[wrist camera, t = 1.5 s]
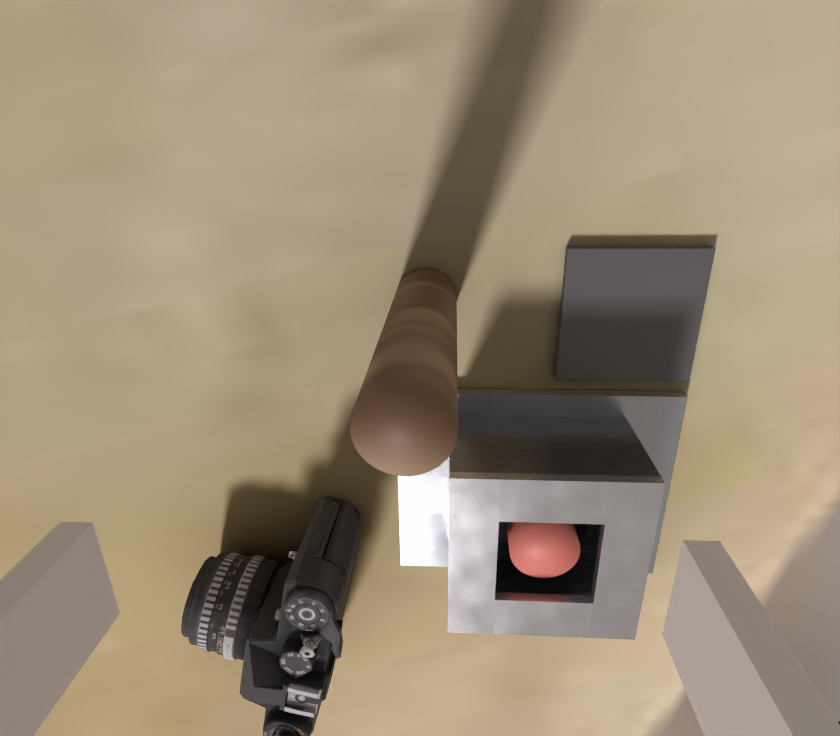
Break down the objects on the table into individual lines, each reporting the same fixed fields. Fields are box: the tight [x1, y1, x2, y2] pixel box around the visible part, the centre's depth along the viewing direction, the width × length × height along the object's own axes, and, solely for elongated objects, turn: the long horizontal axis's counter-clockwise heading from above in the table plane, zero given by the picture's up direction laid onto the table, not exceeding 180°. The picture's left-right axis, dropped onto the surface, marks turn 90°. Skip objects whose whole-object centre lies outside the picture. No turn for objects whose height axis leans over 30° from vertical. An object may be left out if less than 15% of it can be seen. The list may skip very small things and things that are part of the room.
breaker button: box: [506, 522, 581, 578], centre depth 33 cm, size 4×4×4 cm
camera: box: [181, 496, 361, 736], centre depth 37 cm, size 14×11×10 cm
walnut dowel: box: [350, 268, 458, 476], centre depth 25 cm, size 4×4×16 cm
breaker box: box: [398, 388, 687, 639], centre depth 34 cm, size 14×18×8 cm
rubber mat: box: [554, 247, 715, 381], centre depth 32 cm, size 8×8×1 cm
